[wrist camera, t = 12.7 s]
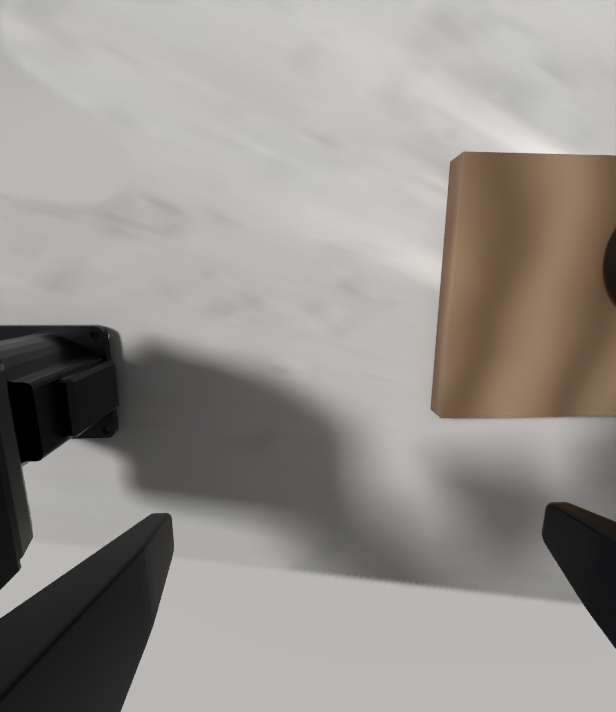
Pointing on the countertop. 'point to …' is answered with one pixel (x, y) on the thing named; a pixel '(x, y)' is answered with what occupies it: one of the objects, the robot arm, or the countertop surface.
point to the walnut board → (526, 288)
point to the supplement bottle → (610, 267)
